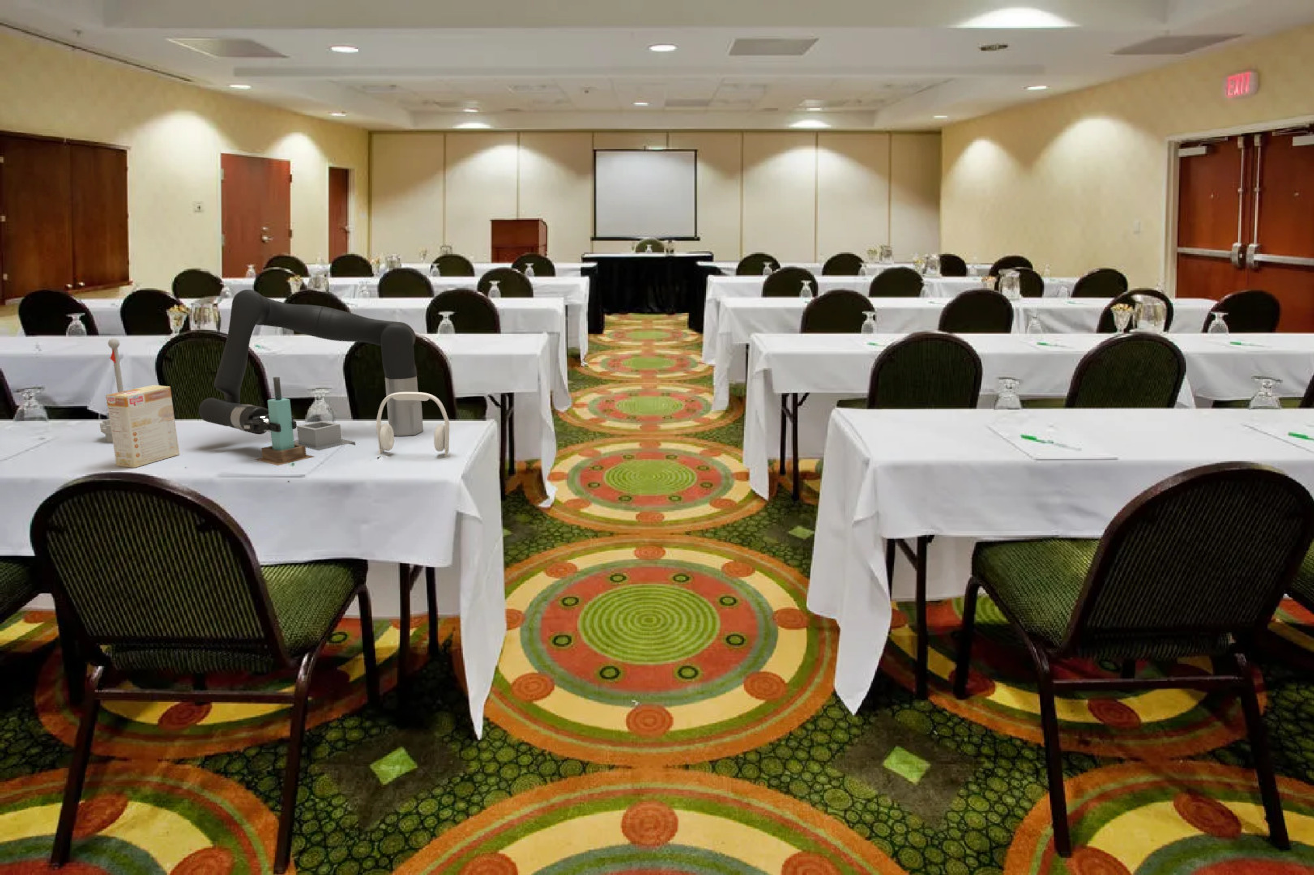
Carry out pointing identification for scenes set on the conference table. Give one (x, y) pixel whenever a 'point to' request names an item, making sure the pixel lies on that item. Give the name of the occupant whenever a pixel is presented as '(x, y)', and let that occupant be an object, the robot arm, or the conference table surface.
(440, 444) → the headset
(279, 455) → the brown open square box
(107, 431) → the flag stand
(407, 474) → the conference table surface
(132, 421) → the coffeecake box
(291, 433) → the plug
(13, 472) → the conference table surface
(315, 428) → the box
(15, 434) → the conference table surface
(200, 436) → the conference table surface
